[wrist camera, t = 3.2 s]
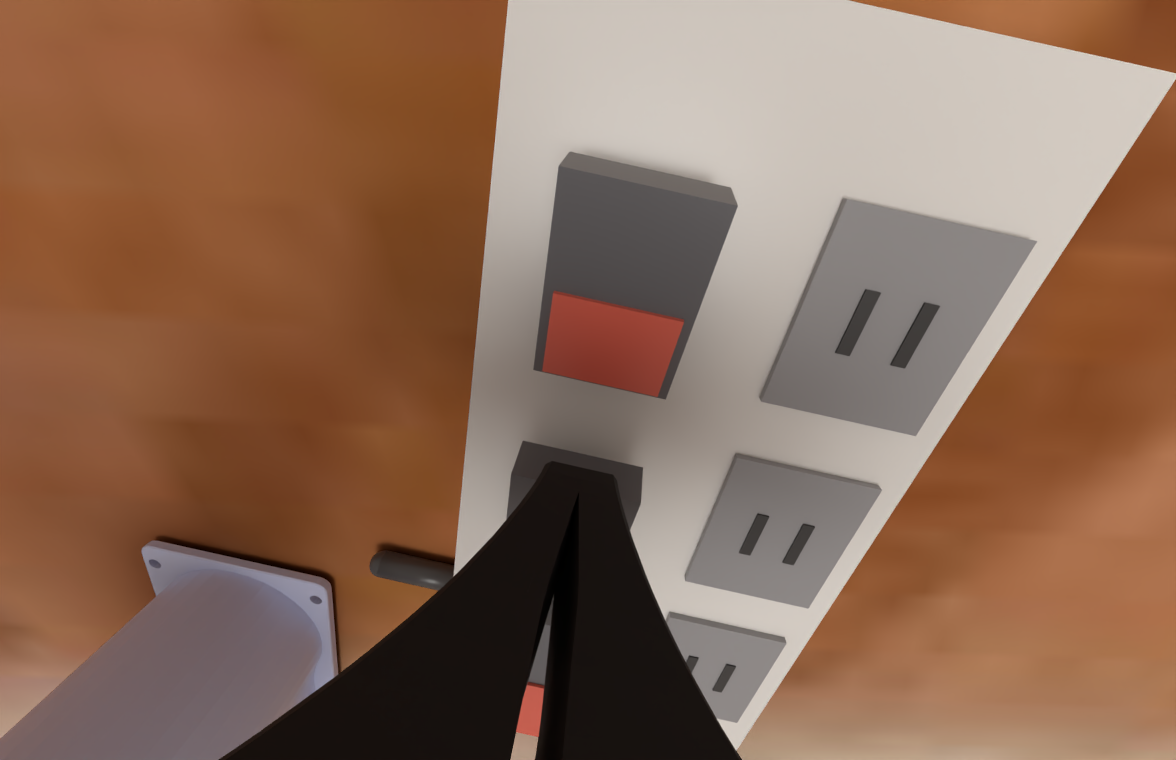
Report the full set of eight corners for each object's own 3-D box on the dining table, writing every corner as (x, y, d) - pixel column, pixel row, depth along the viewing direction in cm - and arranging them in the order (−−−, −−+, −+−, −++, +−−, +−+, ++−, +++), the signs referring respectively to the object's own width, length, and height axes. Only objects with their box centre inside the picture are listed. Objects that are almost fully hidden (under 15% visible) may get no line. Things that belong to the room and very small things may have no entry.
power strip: (715, 675, 20) (730, 769, 17) (378, 600, 20) (330, 680, 17) (1028, 97, 10) (1194, 71, 7) (371, -50, 10) (257, -138, 7)
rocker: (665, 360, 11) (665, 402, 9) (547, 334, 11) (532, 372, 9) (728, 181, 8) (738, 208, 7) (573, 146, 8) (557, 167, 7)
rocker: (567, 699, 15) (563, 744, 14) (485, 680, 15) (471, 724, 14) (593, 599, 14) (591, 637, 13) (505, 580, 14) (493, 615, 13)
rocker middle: (609, 546, 13) (604, 597, 12) (514, 525, 13) (499, 574, 12) (643, 454, 11) (640, 507, 10) (527, 428, 11) (509, 478, 10)
